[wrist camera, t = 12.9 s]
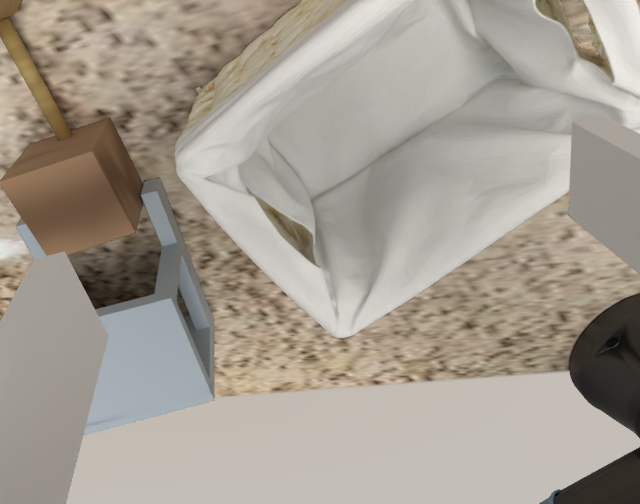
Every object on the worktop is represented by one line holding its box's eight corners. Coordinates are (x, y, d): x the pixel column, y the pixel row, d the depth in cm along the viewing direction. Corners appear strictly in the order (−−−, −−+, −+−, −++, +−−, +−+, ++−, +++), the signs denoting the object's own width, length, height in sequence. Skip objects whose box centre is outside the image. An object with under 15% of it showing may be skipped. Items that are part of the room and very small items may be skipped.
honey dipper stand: (146, 190, 43) (133, 239, 36) (72, 214, 43) (46, 268, 36) (25, -53, 34) (-22, -47, 27) (-68, -22, 34) (-138, -9, 27)
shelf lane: (214, 319, 50) (214, 400, 42) (100, 349, 50) (76, 437, 41) (159, 177, 43) (146, 240, 34) (25, 211, 42) (-22, 283, 34)
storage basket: (457, -141, 36) (590, -177, 23) (549, 68, 44) (686, 126, 31) (172, 90, 40) (153, 166, 27) (304, 242, 48) (337, 354, 35)
